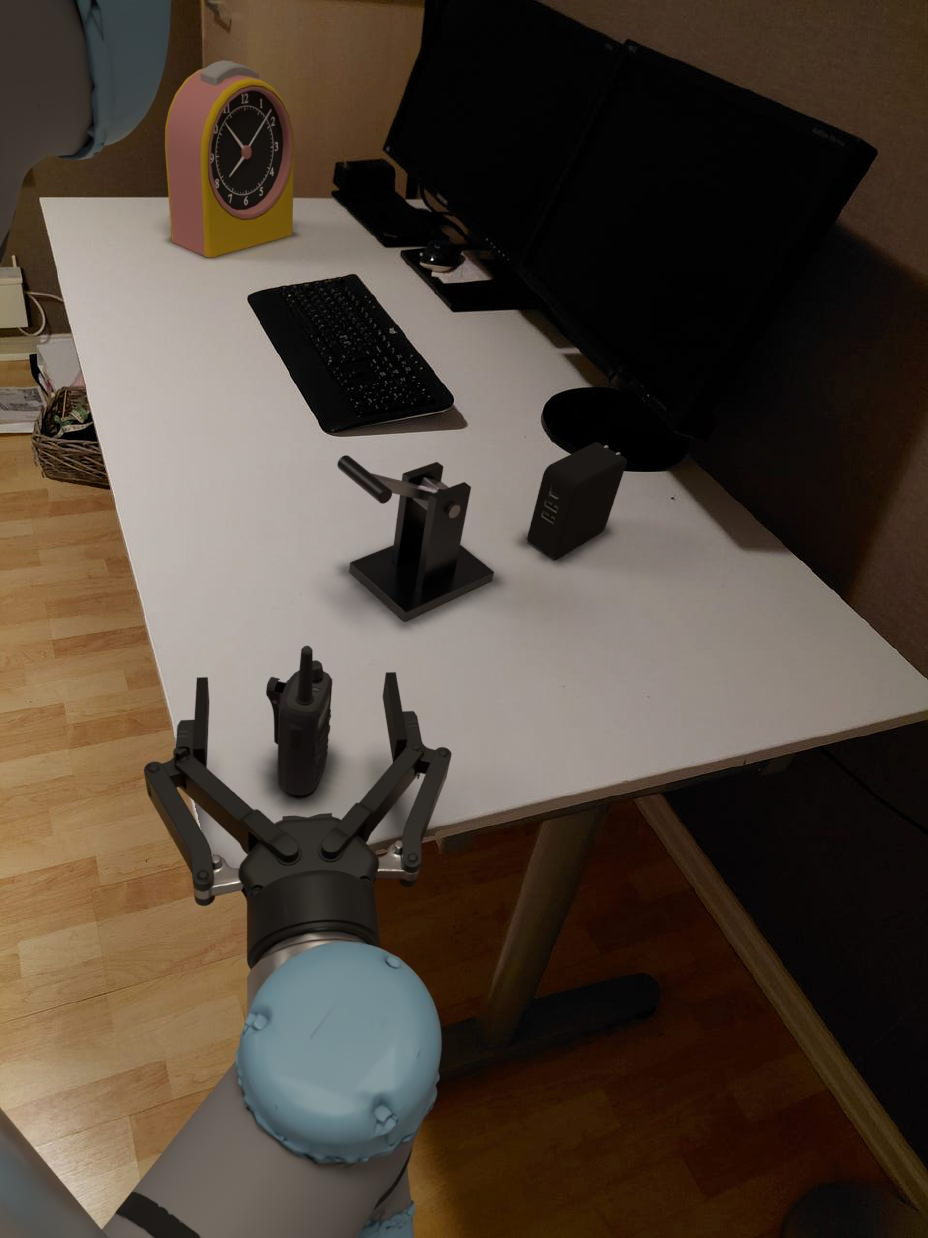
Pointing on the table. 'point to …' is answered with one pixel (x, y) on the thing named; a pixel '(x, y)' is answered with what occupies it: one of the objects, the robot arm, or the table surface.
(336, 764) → the table surface
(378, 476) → the lever
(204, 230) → the alarm clock
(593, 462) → the electronic device
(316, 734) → the two-way radio
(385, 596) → the bracket
